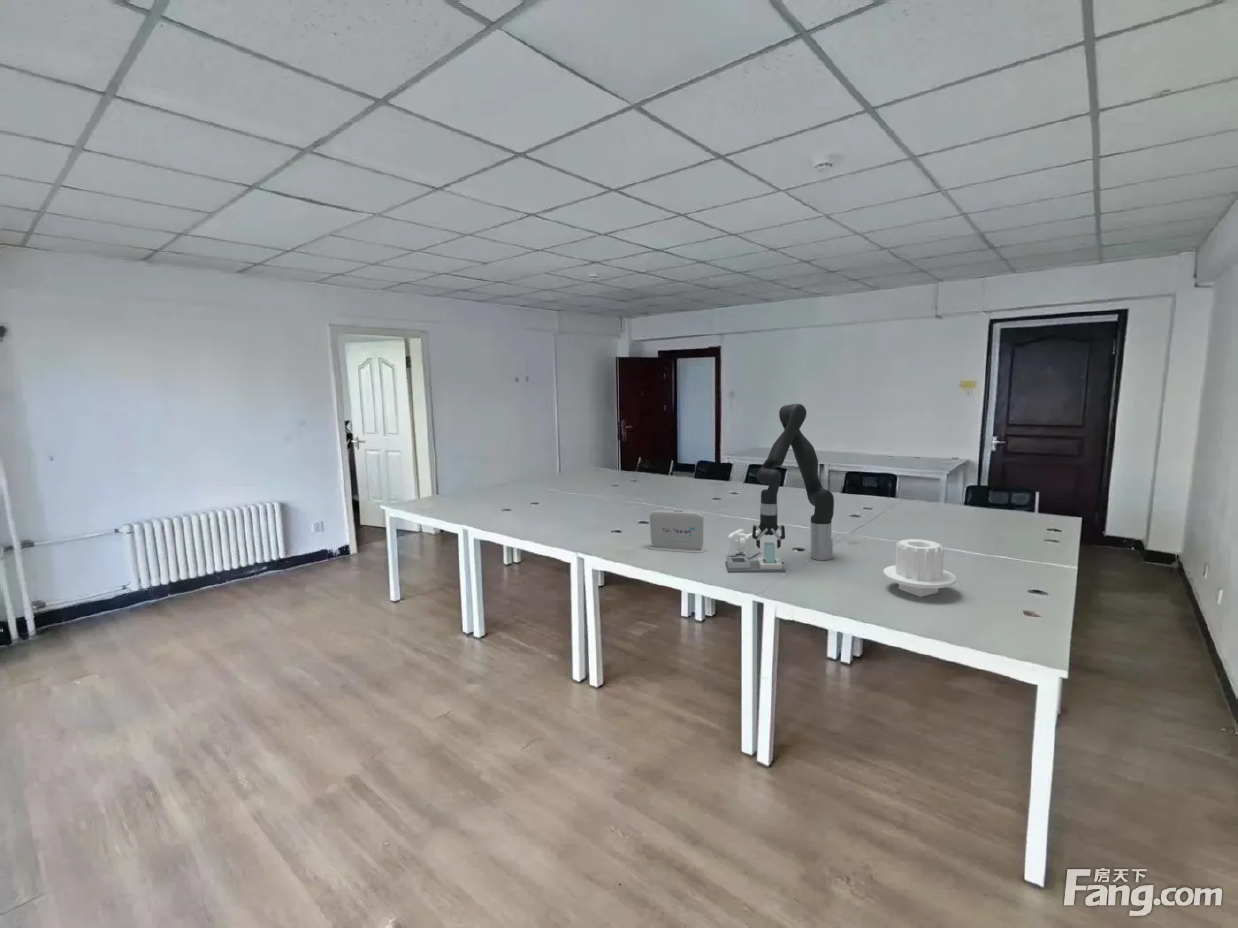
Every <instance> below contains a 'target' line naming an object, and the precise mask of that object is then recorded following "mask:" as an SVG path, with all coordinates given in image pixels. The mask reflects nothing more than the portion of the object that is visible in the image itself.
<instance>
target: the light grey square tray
mask: <svg viewBox="0 0 1238 928" xmlns="http://www.w3.org/2000/svg"><path fill="white" fill-rule="evenodd" d="M756 558H757V559H756V561H757V562H758V564H759V566H760V569H782V565H783V563H782V561H781V559H780V558H779V557H775V563H765V561H764V557H756Z"/></svg>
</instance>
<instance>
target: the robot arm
mask: <svg viewBox="0 0 1238 928" xmlns="http://www.w3.org/2000/svg"><path fill="white" fill-rule="evenodd" d="M778 416H779V417H778V418H779V420H780V423H781V425H782V427H783V429H784V430H783V431H782V433H781V434H780V435H779V436H778V437H777V438H776V440H775V442H774V444H773V445H772V446H771V448H770V451H769V454H768V457H767V458H766V460H764V462H763V464H762V465H761V466H760V468H759V469H758V472H757V475H756V476H757V481H758V483H760V484H762V485H763V484H764V485H768V487H767V488H766V489H763V490H762V491H761V492H760V506H759V525H756V524H753V525H752V531H751V533H752V537H753V539H756V545H757V547H758V548H760V549H761V538H762V537H763V536H775V538H776V548H777V549H780V548H781V546H782V545H781V543H782V542H781V541H782V540H785V539H786V530H785V529H786V528H785V526H784V524H781V525H778V492H779V489H780V486H781V482H782V474H781V472H780V471H779V470H778V469H775V468H778V467H782V466H783V463H784V461H785V459H786V456H787V453H788V451H789V448H790V447H791V449H792V452H793V455H794V459H795V461H796V464H797V467H798V469H799V473H800V474H801V478H802V480H803V482H804V488H805V492H806V497H807V500H808V502H809V503H810V504H811V506H814V513H813V514H812V515H811V516H810V558H811V559H813V560H817V561H828V560H833V554H834V552H833V551H834V549H833V547H834V546H833V544H834V543H833V541H834V540H833V538H832V519H833V518H834V510H835V509H834V508H835V498H834V494H833V493H832V492H831V491H830V490H828V489H825V488H824V487H823V485H822V483H821V481H820V477H819V460H818V455H817V454H816V453H817V452H816V451H815V447H814V446H813V444H812V443H811V442H810V440H808V439H807V437H806V436H805V435H804V434H803V433H802V431H801V427H802V425H803V423H804V422H805V420H806V418H807V409H806V407H805V406H804V405H803V404H802V403H801V404H800V403H793V404H785V405H783V406H781V407H780V409H779V411H778ZM758 529H759V530H758ZM778 529H779V530H780V531H781V532H780V533H781V535H779V534H778V533H777V531H778ZM756 531H760V533H759V534H758V535H757V536H756ZM759 539H760V540H759Z"/></svg>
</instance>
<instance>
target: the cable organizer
mask: <svg viewBox="0 0 1238 928" xmlns="http://www.w3.org/2000/svg"><path fill="white" fill-rule="evenodd" d="M760 531H761V530H756V536H757V535H758V534H759V533H760ZM727 539H728V540H727V541H728V543H727V544H728V555H729V556H730V557H736V556H737V554H738V555H739V554H740V553H743V555H744V557H748V559H749V560H750V559H751V558H753V557H754V556H757V555H758V554H759V553H761V547H760V548H758V547H757V545H756V539H753V537H752V532H750V533H749V534H746V531H745V529H743V528H739V529H738V530H734V531H733V532H731V533H729V534H728V536H727ZM759 540H760V541H761V538H760V539H759Z"/></svg>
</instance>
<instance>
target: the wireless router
mask: <svg viewBox="0 0 1238 928" xmlns="http://www.w3.org/2000/svg"><path fill="white" fill-rule="evenodd" d="M704 522H705V521H704V516H703V514H702V513H701V512H698V511H683V510H664V509H663V510H658V509H657V510H656V509H655V510H653V511H652V512H650V514H649V528H650V540H651V541H650V542H651V544H650V545H648V546H647V549H648V550H650V551H657V552H658V551H659V552H675V553H691V554H701V553H705V552H707V551H708V549H707V548H706V547H703V545H704Z"/></svg>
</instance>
